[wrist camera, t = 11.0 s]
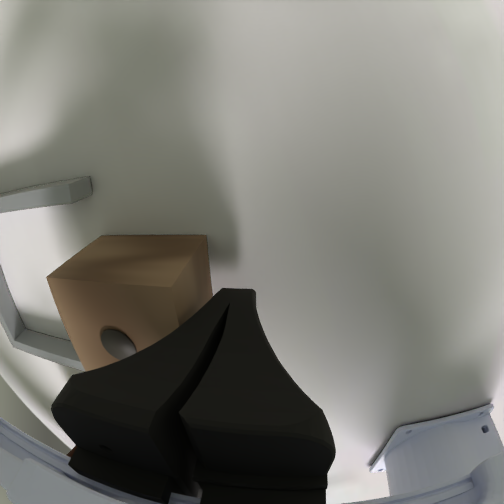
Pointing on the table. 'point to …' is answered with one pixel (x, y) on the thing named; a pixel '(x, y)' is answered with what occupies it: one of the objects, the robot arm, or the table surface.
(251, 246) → the table surface
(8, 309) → the grey arch piece
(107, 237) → the walnut block
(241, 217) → the table surface
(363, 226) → the table surface
